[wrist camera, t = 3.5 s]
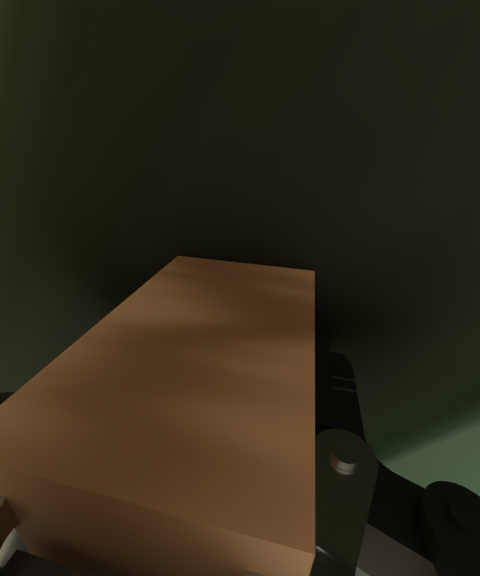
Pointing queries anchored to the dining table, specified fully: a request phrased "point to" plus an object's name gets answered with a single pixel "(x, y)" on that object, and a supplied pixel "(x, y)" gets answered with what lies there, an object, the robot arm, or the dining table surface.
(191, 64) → the dining table surface
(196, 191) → the dining table surface
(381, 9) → the dining table surface
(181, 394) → the terracotta block
